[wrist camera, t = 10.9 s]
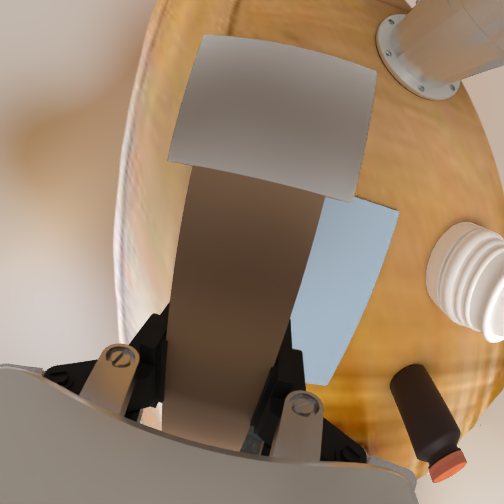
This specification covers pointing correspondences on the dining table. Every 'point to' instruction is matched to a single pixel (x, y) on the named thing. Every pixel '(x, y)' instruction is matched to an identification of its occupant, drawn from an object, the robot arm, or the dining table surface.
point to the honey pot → (469, 278)
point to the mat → (338, 281)
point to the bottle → (428, 422)
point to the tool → (251, 217)
